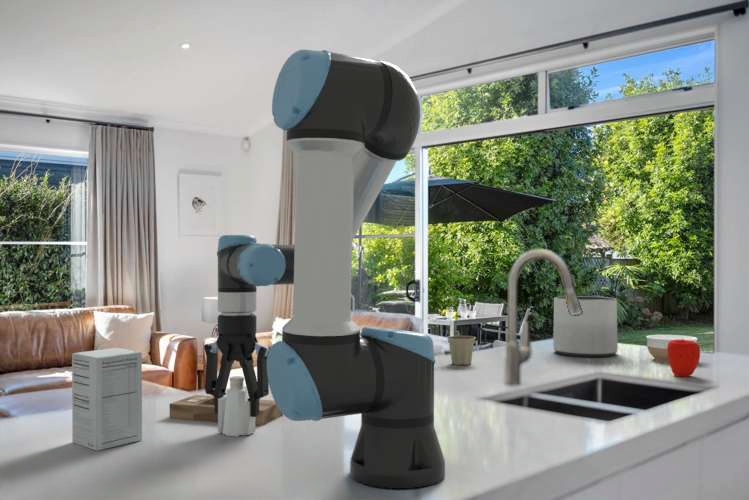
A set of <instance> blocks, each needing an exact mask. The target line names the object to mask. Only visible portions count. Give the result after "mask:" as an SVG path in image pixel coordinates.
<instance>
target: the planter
mask: <svg viewBox="0 0 749 500" xmlns="http://www.w3.org/2000/svg"><path fill="white" fill-rule="evenodd" d="M577 298H578V300H579V302H580V305H581V308H582V311H583V314H582V315H579V316H571V315H570V314H569V312H568V308H567V304H566V300H565V296H555V297H553V340H552V342H553V350H554V351H555V352H556V354H557V353H558V354H559V355H562V356H563V355H564V356H567V357H568V356H570V357H577V358H605V357H606V358H607V357H612V356H614V355H616V353H618V300H617V298H615V297H606V296H587V295H586V296H582V295H581V296H579V295H577Z"/></svg>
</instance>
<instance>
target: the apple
mask: <svg viewBox="0 0 749 500" xmlns="http://www.w3.org/2000/svg"><path fill="white" fill-rule="evenodd" d="M667 353H668V360H669V362H668V363H669V367H670V370H671V372H672V374H673V375H674V376H676V377H681V378H685V377H686V378H687V377H691V376H692V375H693V374H694V372H695V370H696V368H697V367H698V365H699V362H700V357H701V349H700V345H699V343H698V342H694V341H688V340H683V339H682V340H671V341H669V343H668V346H667Z"/></svg>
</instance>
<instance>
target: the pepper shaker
mask: <svg viewBox="0 0 749 500" xmlns="http://www.w3.org/2000/svg"><path fill="white" fill-rule="evenodd" d="M244 383H245V378H244V376H241V375H237V376H235V375H234V376H230V377H229V385H230V386H229V387H230V388H229V389H228V390H226V393H227V394H226V396H227V397H226V406H225V415H224V424H223V432H222V435H224V434H225V435H224V436H226V435H227V437H237V436H238V437H240V436H239V435H243V436H245V435H244V434H245V401H246V400H247V399H248V391H247V388H244Z"/></svg>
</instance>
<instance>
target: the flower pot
mask: <svg viewBox="0 0 749 500" xmlns="http://www.w3.org/2000/svg"><path fill="white" fill-rule="evenodd" d="M446 339H447V340H448V345H449V351H450V357H451V364H452V363H453V364H452V365H454V364H455V365H456V366H462V365H464V366H469V364H470V365H472V360H473V352H474V351H473V350H474V344H475V341H476V339H477V338H476V336H472V335H451V336H447V337H446Z"/></svg>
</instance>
